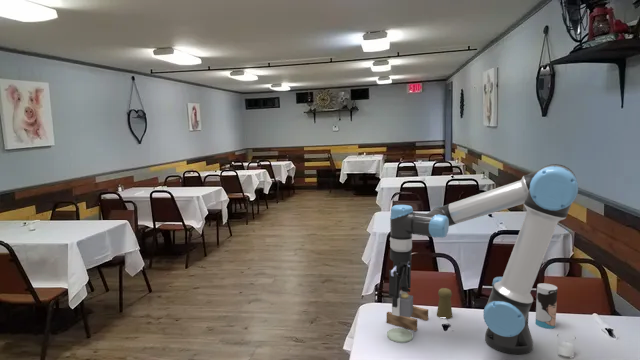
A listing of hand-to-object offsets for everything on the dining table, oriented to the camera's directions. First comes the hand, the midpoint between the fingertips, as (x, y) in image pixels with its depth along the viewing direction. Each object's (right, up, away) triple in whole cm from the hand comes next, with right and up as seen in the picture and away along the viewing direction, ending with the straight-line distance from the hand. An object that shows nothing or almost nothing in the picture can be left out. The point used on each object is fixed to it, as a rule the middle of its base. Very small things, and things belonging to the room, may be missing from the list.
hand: (399, 311), depth 152 cm
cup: (+57, -8, +9) cm, 58 cm away
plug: (+2, 0, -1) cm, 2 cm away
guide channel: (+6, -8, +13) cm, 16 cm away
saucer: (0, -9, +1) cm, 9 cm away
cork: (+21, -7, +18) cm, 29 cm away
